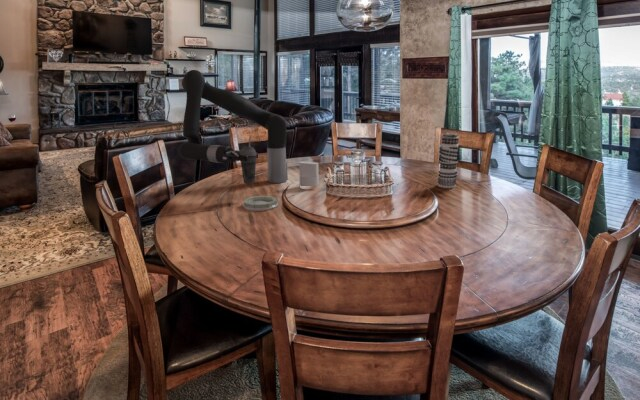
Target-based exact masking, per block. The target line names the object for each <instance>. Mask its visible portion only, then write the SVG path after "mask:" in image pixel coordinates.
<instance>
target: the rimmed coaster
mask: <svg viewBox="0 0 640 400" xmlns="http://www.w3.org/2000/svg"><path fill="white" fill-rule="evenodd" d="M243 202H244V203H243V204H242V208H243V209H244V210H246V211H251V212H265V211H266V212H267V211H272V210H274V209H277V208H278V206H279V205H278V204H279V202H278V200H277V198H276V197H275V196H269V195H258V196H257V195H256V196H251V197H247V198H245V199H243Z"/></svg>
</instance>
